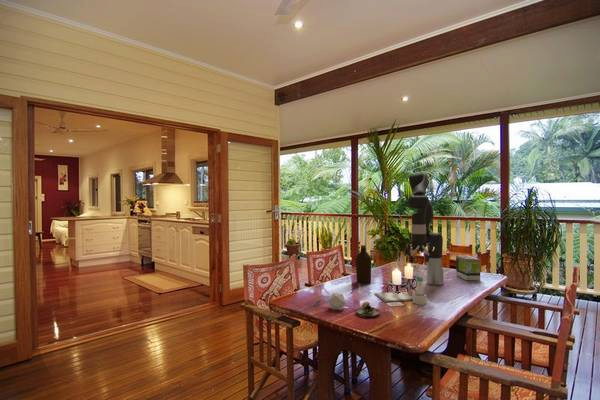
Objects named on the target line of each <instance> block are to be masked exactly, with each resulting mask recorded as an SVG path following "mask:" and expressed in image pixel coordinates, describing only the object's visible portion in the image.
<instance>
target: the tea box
mask: <svg viewBox="0 0 600 400" xmlns="http://www.w3.org/2000/svg"><path fill="white" fill-rule="evenodd" d="M455 257H456V258H455V262H456V263H455V269H456V270H455V275H456V276H457V277H459V278H461V279H462V280H465V281H467V280H479V281H481V259H480V258H478V257H475V256H472V255H469V254H468V255H455Z"/></svg>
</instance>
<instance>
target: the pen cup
mask: <svg viewBox="0 0 600 400" xmlns="http://www.w3.org/2000/svg"><path fill="white" fill-rule="evenodd" d="M412 294H413V301H412V302H413V304H415V305H421V306H423V305H427V294H426V293H424V292H423V296H417V292H413V293H412Z"/></svg>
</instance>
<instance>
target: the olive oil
mask: <svg viewBox="0 0 600 400" xmlns="http://www.w3.org/2000/svg"><path fill="white" fill-rule="evenodd" d="M366 247H367V246H366V245H364V244H362V245H360V252H359V253H358V254H357V255H356V256H355V274H356V283H357V284H359V285H369V284H372V256H371V255H370V254H369V253H368V252H367V248H366Z"/></svg>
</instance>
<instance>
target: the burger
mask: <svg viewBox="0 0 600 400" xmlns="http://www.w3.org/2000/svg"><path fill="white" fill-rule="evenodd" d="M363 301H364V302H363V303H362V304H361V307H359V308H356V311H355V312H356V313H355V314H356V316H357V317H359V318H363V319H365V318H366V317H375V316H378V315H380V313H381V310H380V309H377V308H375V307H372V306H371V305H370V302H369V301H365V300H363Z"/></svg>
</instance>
